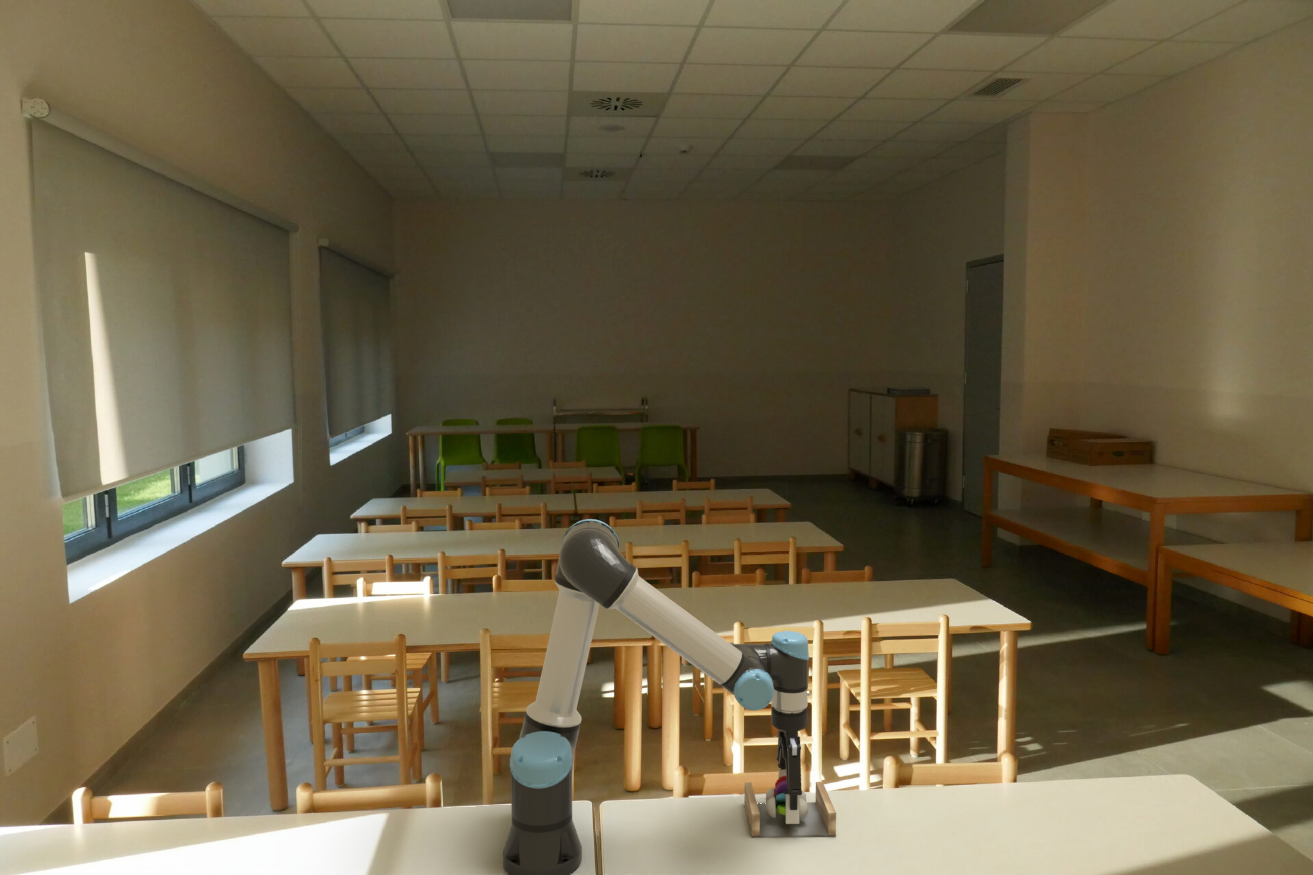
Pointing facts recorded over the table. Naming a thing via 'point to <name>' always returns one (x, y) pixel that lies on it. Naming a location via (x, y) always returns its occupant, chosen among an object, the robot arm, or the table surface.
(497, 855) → the table surface
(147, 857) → the table surface
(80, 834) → the table surface
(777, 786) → the rainbow petal toy
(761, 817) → the bay
